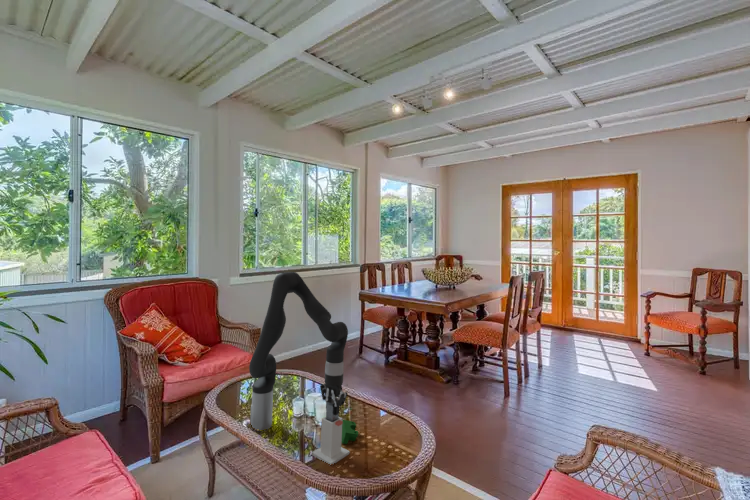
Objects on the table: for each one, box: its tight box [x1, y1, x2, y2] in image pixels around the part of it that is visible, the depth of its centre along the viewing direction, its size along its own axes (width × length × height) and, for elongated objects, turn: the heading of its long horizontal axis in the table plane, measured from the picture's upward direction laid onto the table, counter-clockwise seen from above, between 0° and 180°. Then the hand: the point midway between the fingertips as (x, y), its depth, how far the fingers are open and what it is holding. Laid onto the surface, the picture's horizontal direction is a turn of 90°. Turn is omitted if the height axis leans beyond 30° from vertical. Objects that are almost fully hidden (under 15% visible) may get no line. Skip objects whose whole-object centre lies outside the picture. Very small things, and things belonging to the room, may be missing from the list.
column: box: [325, 398, 340, 422], centre depth 151 cm, size 4×4×20 cm
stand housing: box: [311, 416, 351, 466], centre depth 151 cm, size 11×11×15 cm
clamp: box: [341, 419, 359, 445], centre depth 164 cm, size 12×6×9 cm, turn 5°
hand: (332, 412), depth 151 cm, fingers closed on column, 3 cm apart
